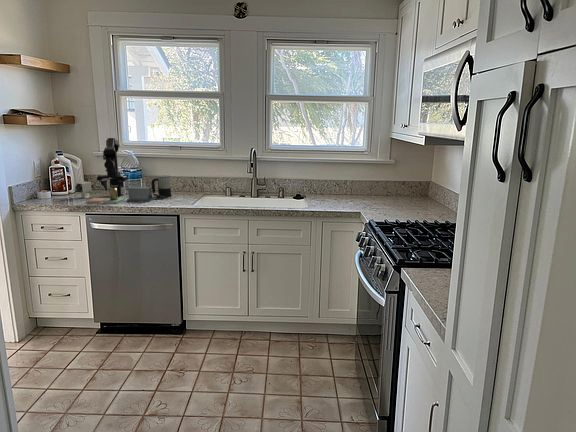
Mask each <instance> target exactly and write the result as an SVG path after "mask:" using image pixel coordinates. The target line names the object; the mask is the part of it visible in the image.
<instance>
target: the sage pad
mask: <svg viewBox="0 0 576 432" xmlns="http://www.w3.org/2000/svg"><path fill="white" fill-rule="evenodd" d="M124 202H125V198H118V200H114V201H112V200H110V198H108V199H107V200H105V201H103V202H102V203H103V204H113V203H115V204H116V205H117V204H120V203H124ZM115 204H114V205H115Z"/></svg>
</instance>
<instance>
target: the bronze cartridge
mask: <svg viewBox="0 0 576 432" xmlns="http://www.w3.org/2000/svg"><path fill="white" fill-rule="evenodd" d="M108 193H109V199H110V200H112V201H114V200H118V199H119V196H117V188H110V187H109V188H108Z"/></svg>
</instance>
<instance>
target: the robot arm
mask: <svg viewBox="0 0 576 432" xmlns="http://www.w3.org/2000/svg"><path fill="white" fill-rule="evenodd" d="M105 146H106V147H104V150H102V153H103V154H102V160H103V161H105V162H104V164H103V165H104V168H105V172H106V175H102V174H101V175H98V176H96V181H98V182H99V183H100V184H101V185H102V187H103V189H104V190H105V192H107V191H108V183H107V181H108V180H109V188H117V196H118V197H121V196H123V195H124V193H122V188H124V185H125V184H124V182H126V181H127V180H128V177H127V175H121V171H119V165H118V164H119V163H118V153H119V148H120V141H119V140H117V139H116V138H115V137H107V139H106V140H105Z"/></svg>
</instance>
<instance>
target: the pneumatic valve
mask: <svg viewBox="0 0 576 432" xmlns="http://www.w3.org/2000/svg"><path fill="white" fill-rule="evenodd" d="M93 189H94V184H93V183H92V181H83V182H76V185H75V190H76V193H81V196H80V197H81V198H82V199H89V198H90V193H89V192H93Z"/></svg>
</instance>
